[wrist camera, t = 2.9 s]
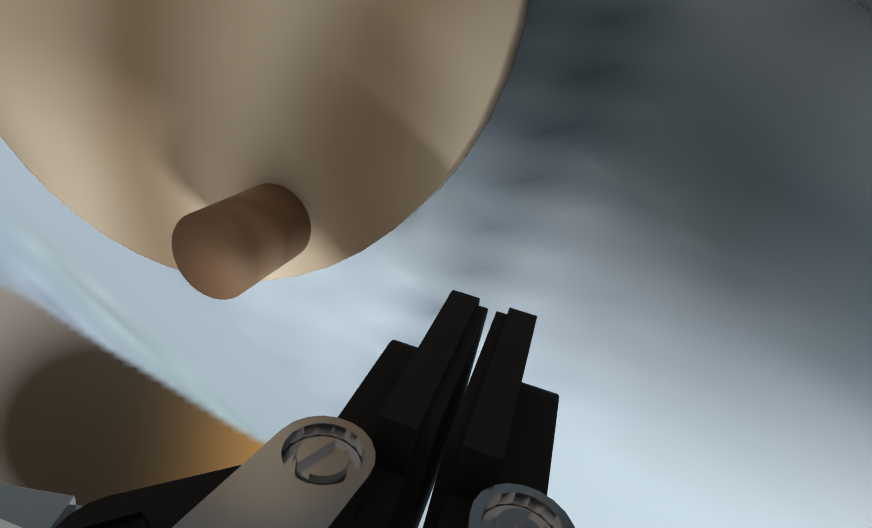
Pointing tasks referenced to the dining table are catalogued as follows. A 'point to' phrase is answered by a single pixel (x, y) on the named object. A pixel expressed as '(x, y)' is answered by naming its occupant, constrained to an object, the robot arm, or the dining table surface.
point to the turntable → (249, 120)
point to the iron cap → (865, 4)
